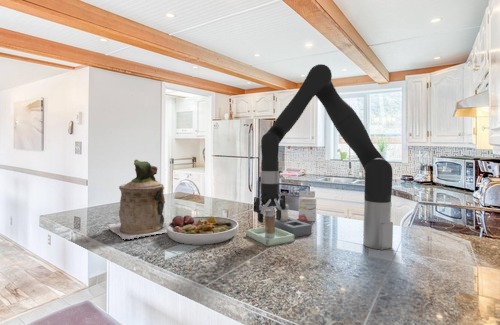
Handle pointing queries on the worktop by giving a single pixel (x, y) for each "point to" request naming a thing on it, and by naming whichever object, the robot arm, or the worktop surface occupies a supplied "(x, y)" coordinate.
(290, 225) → the block
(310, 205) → the ink cartridge box
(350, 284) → the worktop surface
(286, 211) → the fuse
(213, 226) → the bowl
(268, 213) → the cylinder
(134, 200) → the cookie jar
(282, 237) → the parts tray
